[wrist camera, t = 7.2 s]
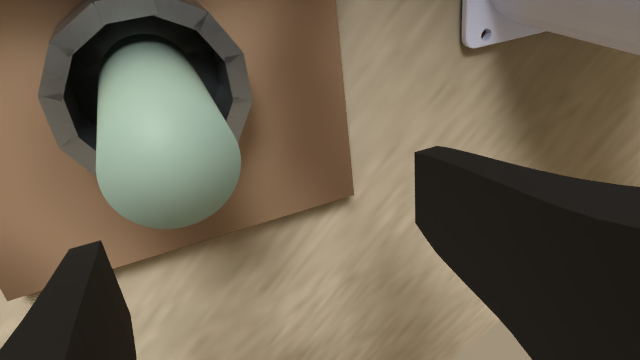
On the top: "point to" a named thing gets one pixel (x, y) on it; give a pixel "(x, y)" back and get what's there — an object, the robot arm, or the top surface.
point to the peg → (161, 136)
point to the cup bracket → (220, 81)
